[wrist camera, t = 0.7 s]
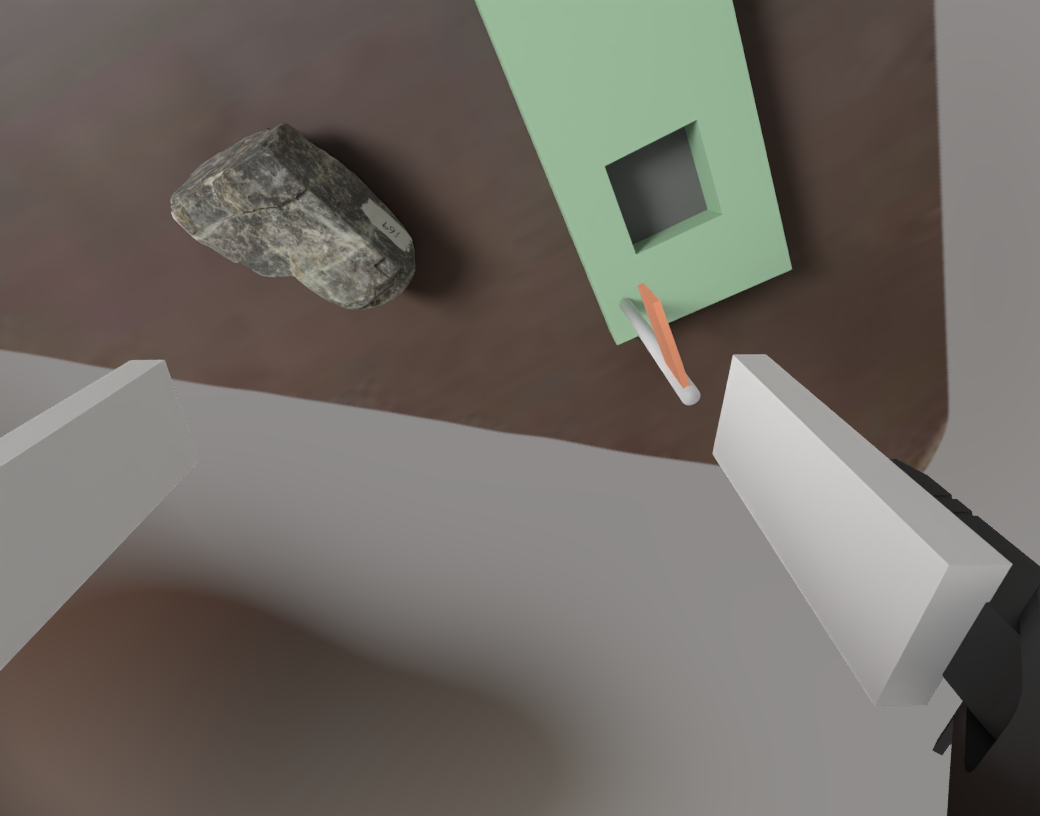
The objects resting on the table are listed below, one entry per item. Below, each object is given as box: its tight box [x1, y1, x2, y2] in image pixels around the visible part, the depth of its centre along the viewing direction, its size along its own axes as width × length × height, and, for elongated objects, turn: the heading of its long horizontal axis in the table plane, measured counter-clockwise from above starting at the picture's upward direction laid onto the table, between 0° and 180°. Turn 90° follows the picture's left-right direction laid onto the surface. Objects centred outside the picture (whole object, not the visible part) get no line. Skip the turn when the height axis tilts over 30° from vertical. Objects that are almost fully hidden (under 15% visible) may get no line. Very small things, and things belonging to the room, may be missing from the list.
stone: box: [171, 123, 415, 310], centre depth 31 cm, size 14×7×10 cm, turn 63°
